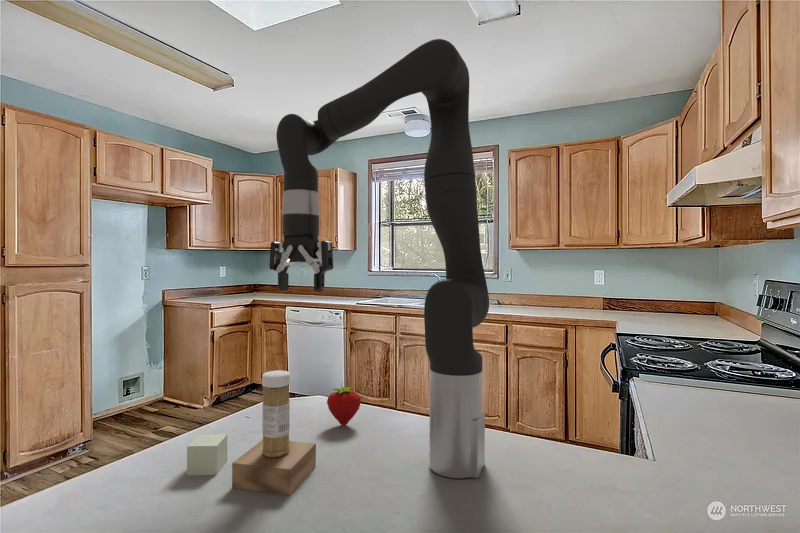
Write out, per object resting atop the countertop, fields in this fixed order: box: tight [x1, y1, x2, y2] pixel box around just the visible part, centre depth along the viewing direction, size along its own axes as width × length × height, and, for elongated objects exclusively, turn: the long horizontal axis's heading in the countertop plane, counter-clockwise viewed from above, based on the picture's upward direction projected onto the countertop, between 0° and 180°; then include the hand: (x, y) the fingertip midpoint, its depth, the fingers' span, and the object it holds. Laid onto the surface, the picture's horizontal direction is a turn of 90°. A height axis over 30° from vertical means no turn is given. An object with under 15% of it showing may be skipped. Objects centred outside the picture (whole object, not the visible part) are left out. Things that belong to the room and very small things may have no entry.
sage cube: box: [186, 434, 228, 476], centre depth 76 cm, size 5×5×5 cm
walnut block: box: [231, 439, 317, 496], centre depth 73 cm, size 10×10×4 cm
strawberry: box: [326, 381, 362, 426], centre depth 97 cm, size 6×8×10 cm
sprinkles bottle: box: [261, 369, 291, 457], centre depth 73 cm, size 5×5×14 cm
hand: (300, 291), depth 92 cm, fingers open, 8 cm apart
